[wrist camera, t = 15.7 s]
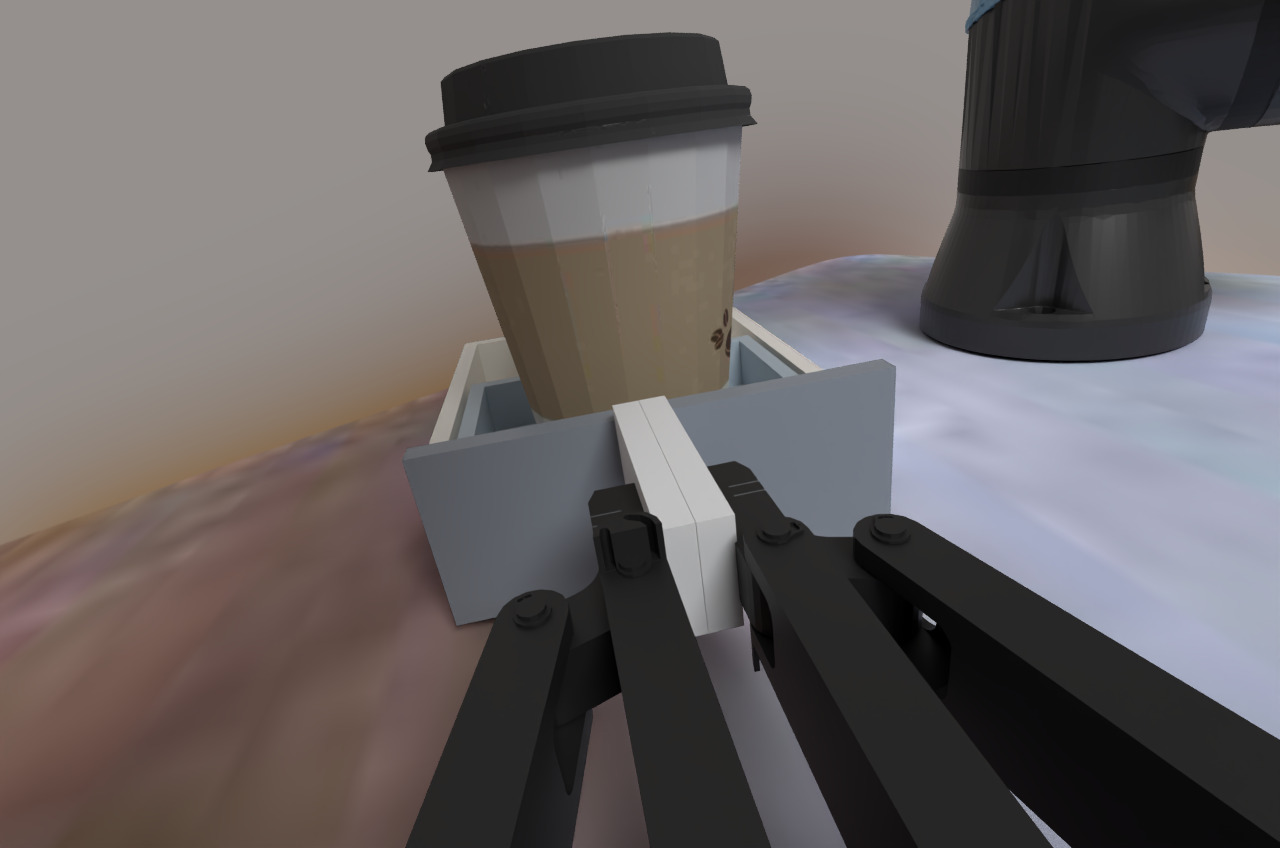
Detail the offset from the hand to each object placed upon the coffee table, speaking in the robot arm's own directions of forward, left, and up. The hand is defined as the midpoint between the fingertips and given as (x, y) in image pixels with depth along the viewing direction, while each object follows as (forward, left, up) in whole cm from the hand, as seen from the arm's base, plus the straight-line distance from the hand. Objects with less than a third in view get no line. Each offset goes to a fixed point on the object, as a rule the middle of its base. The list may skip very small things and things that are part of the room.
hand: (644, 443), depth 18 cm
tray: (-1, -8, -6) cm, 10 cm away
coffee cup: (-1, -8, -5) cm, 9 cm away
